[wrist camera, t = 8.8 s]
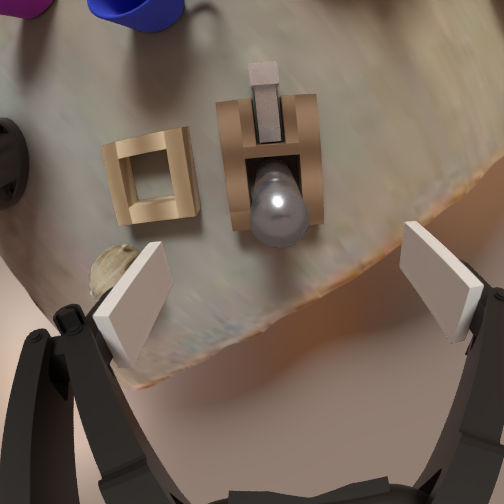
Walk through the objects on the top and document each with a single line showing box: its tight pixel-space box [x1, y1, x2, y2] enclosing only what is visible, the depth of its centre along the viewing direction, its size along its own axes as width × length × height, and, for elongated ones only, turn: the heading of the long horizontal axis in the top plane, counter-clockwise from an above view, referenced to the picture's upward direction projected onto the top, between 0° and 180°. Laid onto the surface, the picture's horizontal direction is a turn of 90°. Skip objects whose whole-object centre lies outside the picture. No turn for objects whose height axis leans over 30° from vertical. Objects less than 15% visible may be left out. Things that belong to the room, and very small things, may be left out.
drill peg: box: [250, 159, 309, 248], centre depth 27 cm, size 4×4×15 cm
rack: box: [101, 126, 201, 226], centre depth 32 cm, size 10×10×3 cm
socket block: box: [216, 94, 324, 231], centre depth 31 cm, size 14×10×4 cm
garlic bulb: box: [89, 243, 141, 304], centre depth 36 cm, size 9×8×10 cm
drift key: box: [248, 61, 281, 143], centre depth 27 cm, size 8×3×6 cm, turn 6°
